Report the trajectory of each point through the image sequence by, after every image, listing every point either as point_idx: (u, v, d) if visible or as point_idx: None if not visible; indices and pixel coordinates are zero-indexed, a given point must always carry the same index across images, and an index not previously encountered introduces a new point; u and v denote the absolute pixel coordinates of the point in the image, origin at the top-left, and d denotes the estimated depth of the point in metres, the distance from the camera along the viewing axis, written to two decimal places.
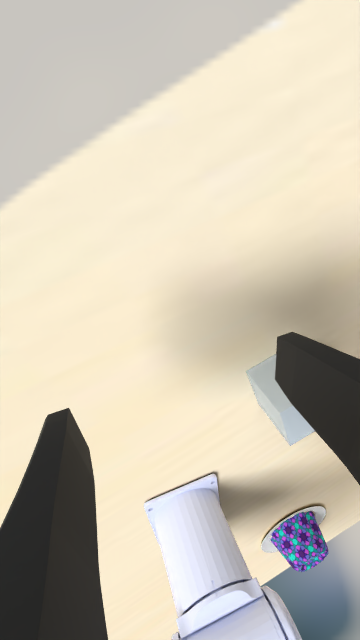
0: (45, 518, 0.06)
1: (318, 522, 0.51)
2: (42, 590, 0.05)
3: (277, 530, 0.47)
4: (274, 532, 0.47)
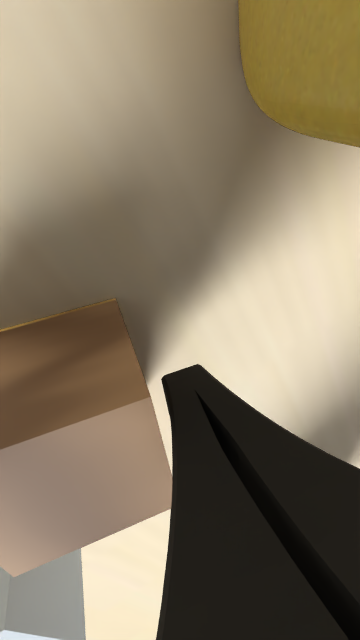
0: (214, 449, 0.06)
1: None
2: (246, 497, 0.05)
3: None
4: None
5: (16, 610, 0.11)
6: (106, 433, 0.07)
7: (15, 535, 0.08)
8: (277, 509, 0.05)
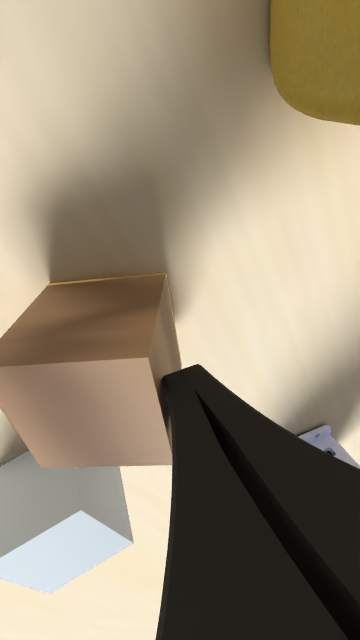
0: (214, 449, 0.06)
1: None
2: (245, 498, 0.05)
3: None
4: None
5: (86, 501, 0.14)
6: (110, 377, 0.08)
7: (42, 435, 0.10)
8: (277, 510, 0.05)
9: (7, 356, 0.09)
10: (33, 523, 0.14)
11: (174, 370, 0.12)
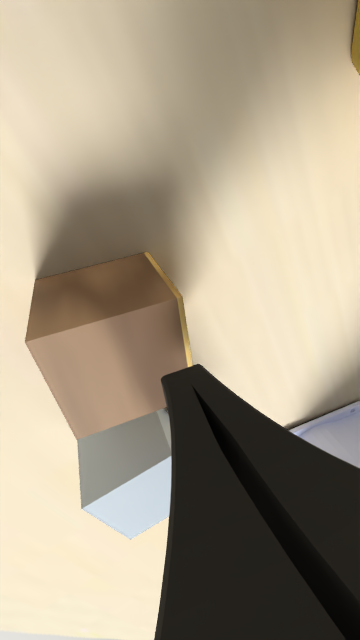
0: (213, 450, 0.06)
1: None
2: (244, 498, 0.05)
3: None
4: None
5: None
6: None
7: None
8: (278, 509, 0.05)
9: (44, 284, 0.13)
10: (127, 468, 0.15)
11: (144, 386, 0.12)
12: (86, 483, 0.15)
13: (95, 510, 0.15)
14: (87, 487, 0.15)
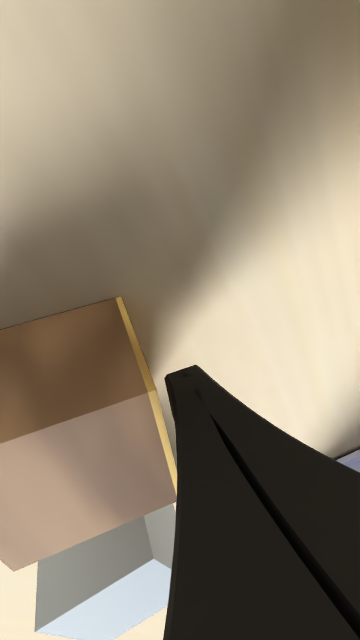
0: (219, 447, 0.06)
1: None
2: (251, 495, 0.05)
3: None
4: None
5: (155, 545, 0.12)
6: None
7: None
8: (273, 511, 0.05)
9: None
10: (96, 572, 0.12)
11: (108, 500, 0.08)
12: (44, 590, 0.12)
13: (54, 629, 0.12)
14: (45, 596, 0.12)
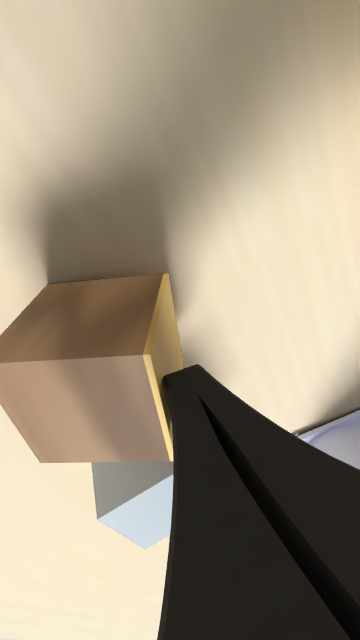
0: (215, 449, 0.06)
1: None
2: (246, 497, 0.05)
3: None
4: None
5: None
6: None
7: None
8: (277, 510, 0.05)
9: (49, 292, 0.12)
10: (144, 477, 0.15)
11: (109, 436, 0.10)
12: (101, 492, 0.15)
13: (110, 521, 0.14)
14: (102, 496, 0.15)
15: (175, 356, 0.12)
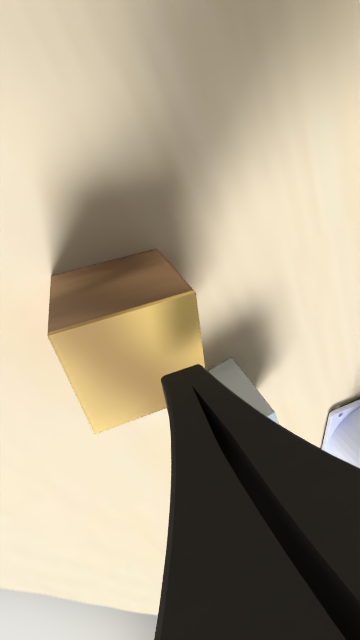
0: (213, 450, 0.06)
1: None
2: (244, 498, 0.05)
3: None
4: None
5: None
6: None
7: None
8: (278, 509, 0.05)
9: (142, 255, 0.14)
10: None
11: None
12: None
13: None
14: None
15: (164, 371, 0.12)
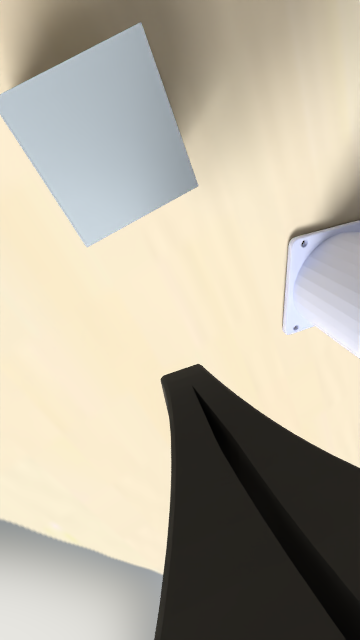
0: (213, 449, 0.06)
1: None
2: (244, 498, 0.05)
3: None
4: None
5: None
6: None
7: None
8: (278, 509, 0.05)
9: None
10: None
11: None
12: None
13: (16, 121, 0.09)
14: None
15: None
